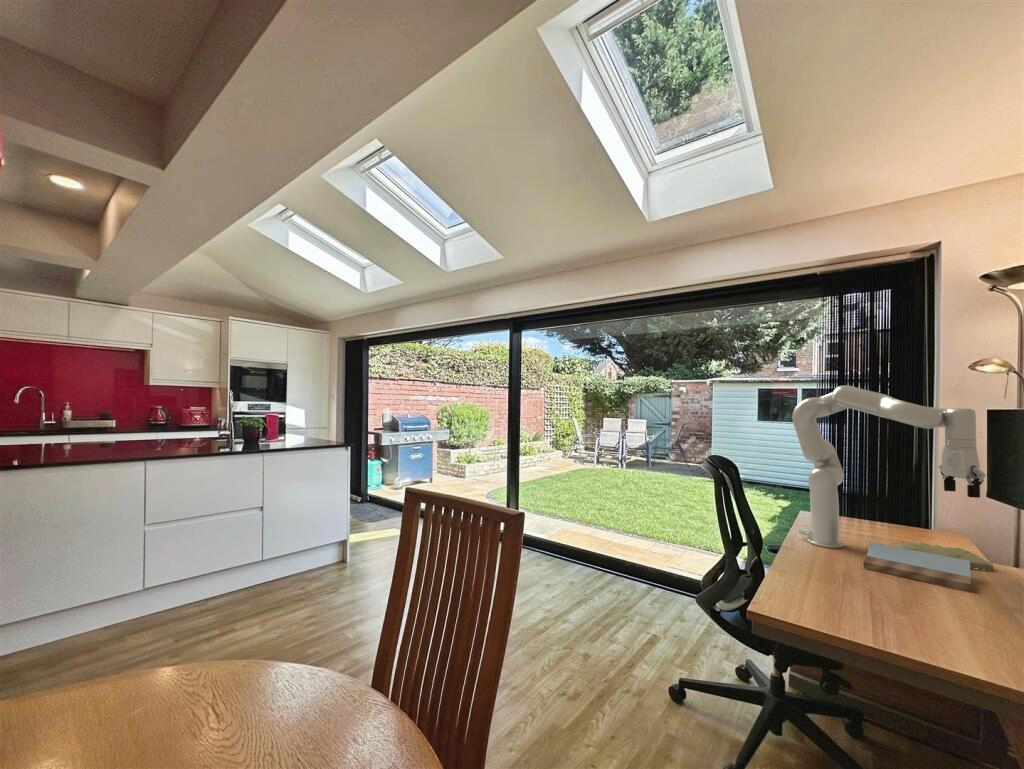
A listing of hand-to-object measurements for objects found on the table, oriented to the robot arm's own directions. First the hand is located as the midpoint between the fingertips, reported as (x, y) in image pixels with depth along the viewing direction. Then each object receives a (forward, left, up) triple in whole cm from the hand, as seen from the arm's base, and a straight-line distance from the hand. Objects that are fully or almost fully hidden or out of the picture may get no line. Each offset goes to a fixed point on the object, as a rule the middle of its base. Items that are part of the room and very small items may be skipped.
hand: (961, 494), depth 150 cm
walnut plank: (-11, -16, -27) cm, 33 cm away
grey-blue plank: (-11, -7, -25) cm, 28 cm away
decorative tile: (-5, +15, -28) cm, 32 cm away
